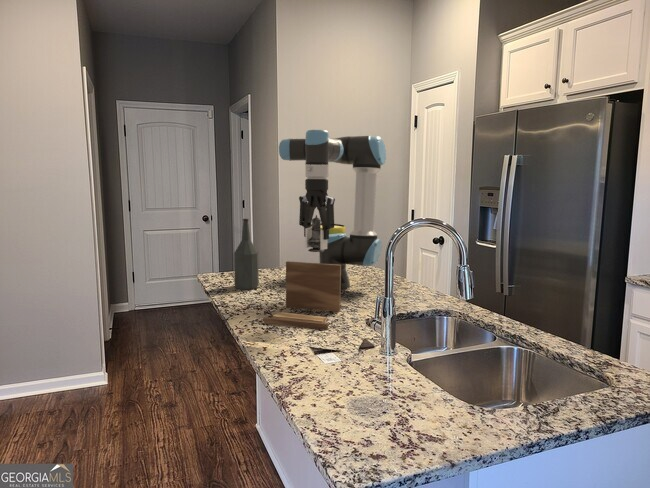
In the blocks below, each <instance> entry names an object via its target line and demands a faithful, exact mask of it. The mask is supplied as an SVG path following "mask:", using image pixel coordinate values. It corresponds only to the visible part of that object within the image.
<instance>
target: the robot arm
mask: <svg viewBox="0 0 650 488" xmlns="http://www.w3.org/2000/svg"><path fill="white" fill-rule="evenodd" d="M329 135H330V133H329V131H328V130H326V129H309V130H306V132H305V138H285V139H282V140H281V141H280V142H279V145H278V155H279V156H280V159H282V160H283V161H305V163H304V164H305V174H304V175H305V177H306V179H305V183H304V187H305V191H306V193H305V195H301V196H300V195H299V197H298V200H299V219H298V221H299V223H298V225H299V226H302V227H303V236H304V238H305V240H304V242H305V245H304V247H305V248H311V247H310V246H309V243H308V241H307V240H308V239H310V238H311V236H312V230H311V228H310V227H312V226H311V224H312V219H313V217H314V213H315V210H316V209H317V210H318V215H319V219H320V220H321V224H322V229H321V238H320V250H324V251H323V252H318V253H319V256H318V257H319V263H321V264H337V265H341V290H346V289H349V288H350V286H351V284H350V283H351V282H350V277H349V275H348V272H347V271H348V270H347V265H352V266H361V267H375V266H376V265H377V264H378V262H379V260H380V257H381V252H382V247H383V246H382V245H383V244H382V241H381V239H379V238H378V233H376V231H375V217H376V215H375V214H376V213H375V212H376V195H377V194H376V193H377V177H378V175H377V173H378V172H379V171H381V166H382V165H383V166H384V165H385V164H386V160H387V157H386V156H387V150H386V146H385V144H384V143H385V142H384V140H383V139H382V138H381V136H377V135H375V136H374V135H358V136H341V137H335V138H332V137H331V138H330V136H329ZM329 163H337V164H341V165H352V170H353V171H354V172H355V191H354V192H355V193H354V212H353V213H354V215H353V217H354V218H353V230H352V231H351V232H350V233H349V237H348V235H347V233H346V232H345V233H337V234H329V229H331V228H334V224H335V207H334V206H335V201H336V199H335V197H330V196H329V195H328V190H329V180H328V178H329Z"/></svg>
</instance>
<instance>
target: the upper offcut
mask: <svg viewBox="0 0 650 488" xmlns="http://www.w3.org/2000/svg"><path fill="white" fill-rule="evenodd" d="M272 318H282V319H292V320H303V321H313V322H323V323H327V316H319V315H310V314H300V313H291V312H283V311H282V312H280V311H278V312H276V313H275V314H274V315H272Z"/></svg>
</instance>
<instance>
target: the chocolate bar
mask: <svg viewBox="0 0 650 488" xmlns="http://www.w3.org/2000/svg"><path fill="white" fill-rule="evenodd" d="M368 348H369V349H374V348H375V345H374V344H373V343H372V342H370V341H369V340H368V339H367V338H366V337H364V339H363V340H362V341H361V344H360V345H359V347H358V348H357V349H358V351H359V350H367V349H368ZM309 349H310V350H311V351H312V353H313V354H314V355H315V356H316V355H324V354H325V355H326V354H332V353H340V352H341V353H342V352H343V353H344V350H339V349H333V348H331V349H330V348H321V347H312V346H309Z"/></svg>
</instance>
